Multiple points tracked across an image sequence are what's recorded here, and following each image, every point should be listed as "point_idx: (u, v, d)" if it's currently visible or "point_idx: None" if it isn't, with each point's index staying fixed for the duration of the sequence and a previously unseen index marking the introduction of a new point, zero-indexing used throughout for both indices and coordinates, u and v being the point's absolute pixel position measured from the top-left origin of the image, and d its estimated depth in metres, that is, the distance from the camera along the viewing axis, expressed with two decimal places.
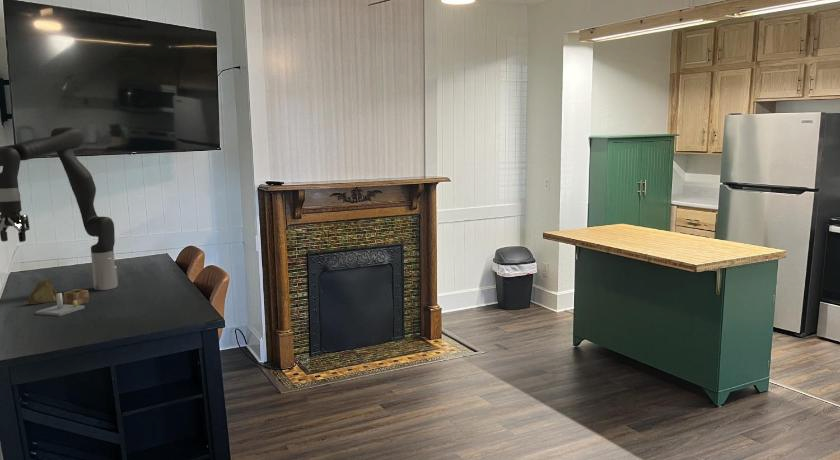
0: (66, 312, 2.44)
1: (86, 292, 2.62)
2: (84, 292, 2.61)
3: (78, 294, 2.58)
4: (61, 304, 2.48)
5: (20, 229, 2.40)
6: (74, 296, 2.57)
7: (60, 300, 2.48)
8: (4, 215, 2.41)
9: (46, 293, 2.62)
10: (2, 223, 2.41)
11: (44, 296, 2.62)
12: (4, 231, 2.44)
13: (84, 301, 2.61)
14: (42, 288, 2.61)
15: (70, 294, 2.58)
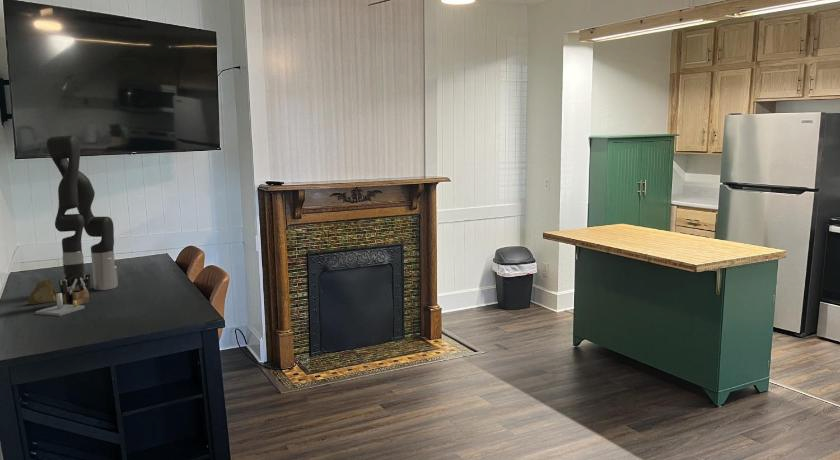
0: (66, 312, 2.44)
1: (86, 292, 2.62)
2: (84, 292, 2.61)
3: (78, 294, 2.58)
4: (61, 304, 2.48)
5: (86, 288, 2.65)
6: (74, 296, 2.57)
7: (60, 300, 2.48)
8: (73, 277, 2.58)
9: (46, 293, 2.62)
10: (74, 285, 2.58)
11: (44, 296, 2.62)
12: None
13: (84, 301, 2.61)
14: (42, 288, 2.61)
15: None
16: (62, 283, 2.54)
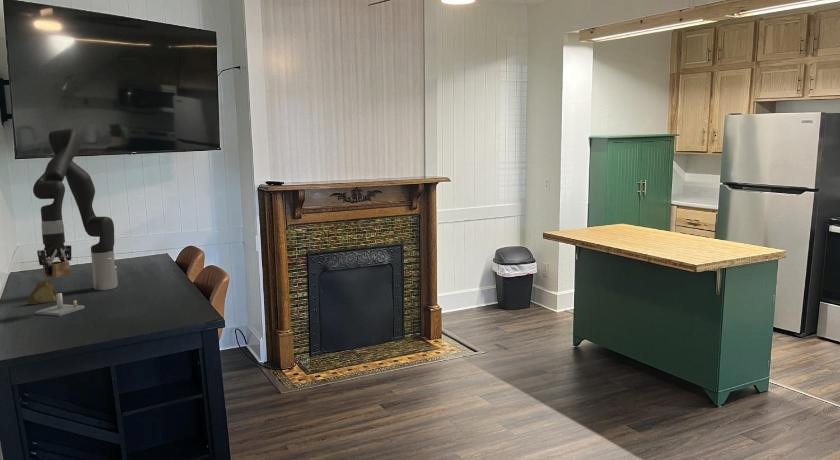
0: (66, 312, 2.44)
1: (67, 264, 2.48)
2: (65, 264, 2.47)
3: (58, 265, 2.44)
4: (61, 304, 2.48)
5: (67, 259, 2.50)
6: (54, 267, 2.43)
7: (60, 300, 2.48)
8: (52, 247, 2.44)
9: (46, 293, 2.62)
10: (53, 256, 2.43)
11: (44, 296, 2.62)
12: None
13: (65, 273, 2.47)
14: (42, 288, 2.61)
15: None
16: (41, 253, 2.39)
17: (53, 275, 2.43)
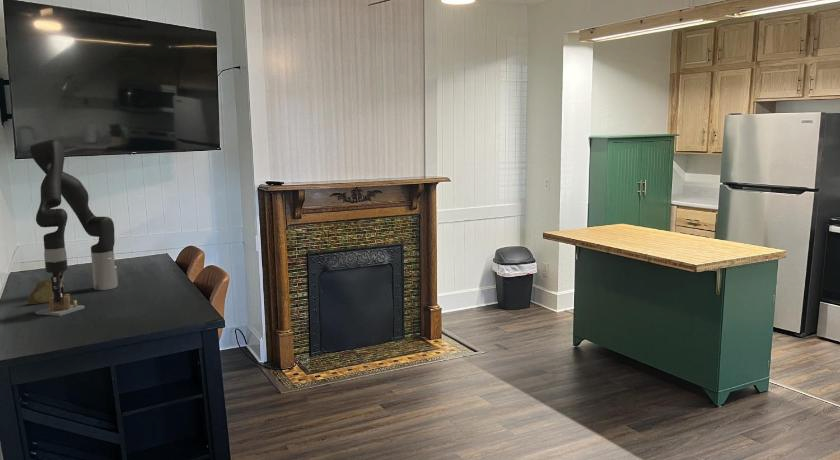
0: (66, 312, 2.44)
1: (69, 296, 2.52)
2: (68, 296, 2.51)
3: (68, 298, 2.48)
4: None
5: None
6: (65, 300, 2.46)
7: None
8: (59, 274, 2.46)
9: (46, 293, 2.62)
10: (61, 282, 2.46)
11: (44, 296, 2.62)
12: None
13: (69, 305, 2.51)
14: (42, 288, 2.61)
15: None
16: (56, 279, 2.41)
17: (64, 308, 2.47)
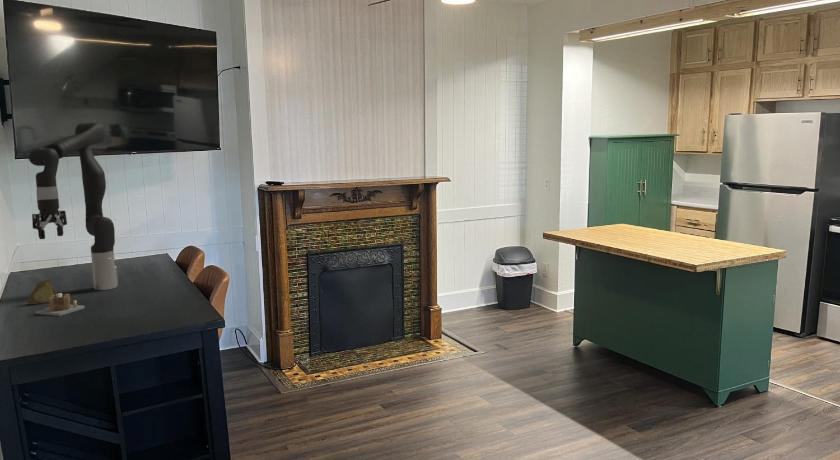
0: (66, 312, 2.44)
1: (69, 296, 2.52)
2: (68, 296, 2.51)
3: (68, 298, 2.48)
4: None
5: (62, 224, 2.60)
6: (65, 300, 2.46)
7: None
8: (47, 213, 2.52)
9: (46, 293, 2.62)
10: (47, 220, 2.52)
11: (44, 296, 2.62)
12: None
13: (69, 305, 2.51)
14: (42, 288, 2.61)
15: (59, 299, 2.46)
16: (35, 216, 2.48)
17: (64, 308, 2.47)
